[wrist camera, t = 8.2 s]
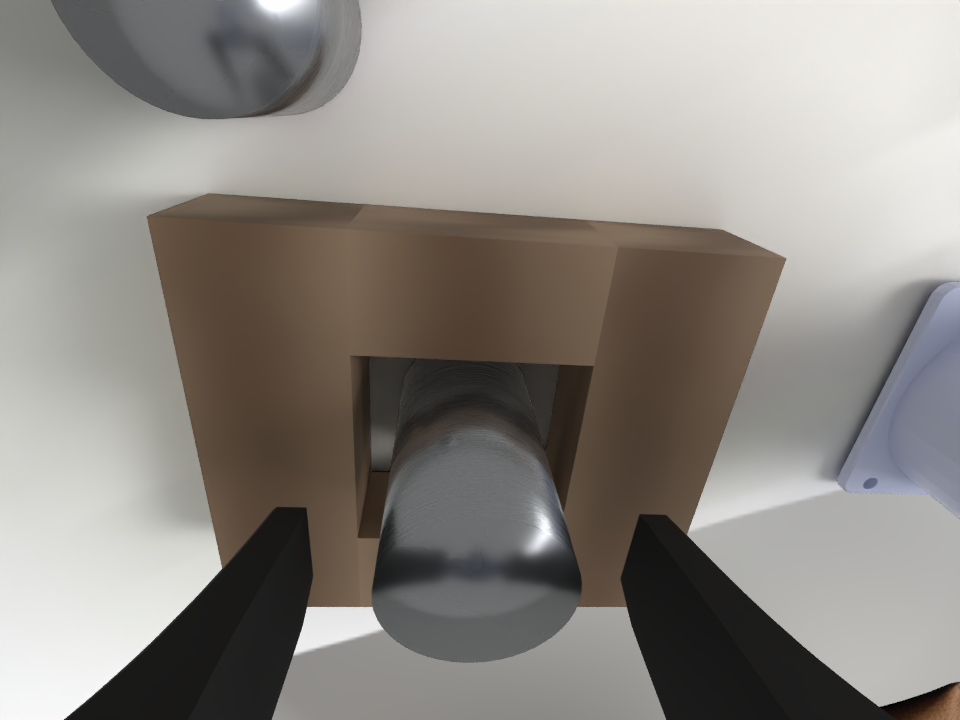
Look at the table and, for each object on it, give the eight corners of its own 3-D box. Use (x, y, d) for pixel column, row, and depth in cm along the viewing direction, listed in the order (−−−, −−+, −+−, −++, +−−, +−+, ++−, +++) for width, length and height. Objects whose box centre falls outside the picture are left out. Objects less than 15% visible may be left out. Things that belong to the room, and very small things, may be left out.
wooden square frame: (722, 229, 14) (786, 258, 12) (631, 538, 20) (660, 606, 17) (208, 193, 13) (147, 216, 10) (262, 533, 18) (230, 606, 16)
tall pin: (536, 346, 16) (605, 526, 9) (514, 450, 17) (557, 665, 11) (407, 332, 15) (377, 510, 8) (397, 440, 17) (366, 659, 10)
